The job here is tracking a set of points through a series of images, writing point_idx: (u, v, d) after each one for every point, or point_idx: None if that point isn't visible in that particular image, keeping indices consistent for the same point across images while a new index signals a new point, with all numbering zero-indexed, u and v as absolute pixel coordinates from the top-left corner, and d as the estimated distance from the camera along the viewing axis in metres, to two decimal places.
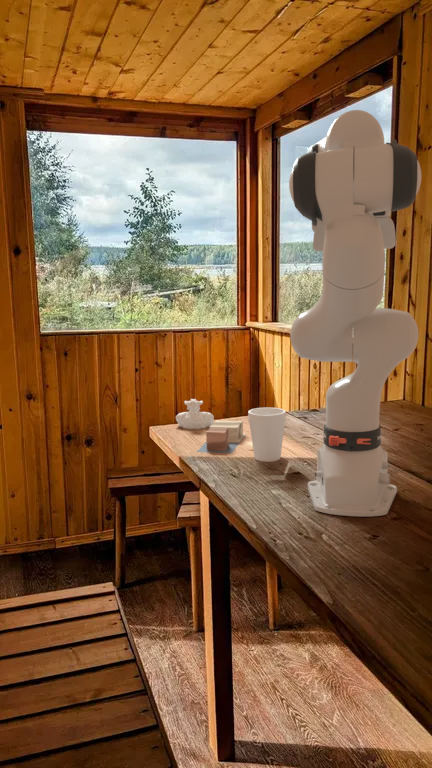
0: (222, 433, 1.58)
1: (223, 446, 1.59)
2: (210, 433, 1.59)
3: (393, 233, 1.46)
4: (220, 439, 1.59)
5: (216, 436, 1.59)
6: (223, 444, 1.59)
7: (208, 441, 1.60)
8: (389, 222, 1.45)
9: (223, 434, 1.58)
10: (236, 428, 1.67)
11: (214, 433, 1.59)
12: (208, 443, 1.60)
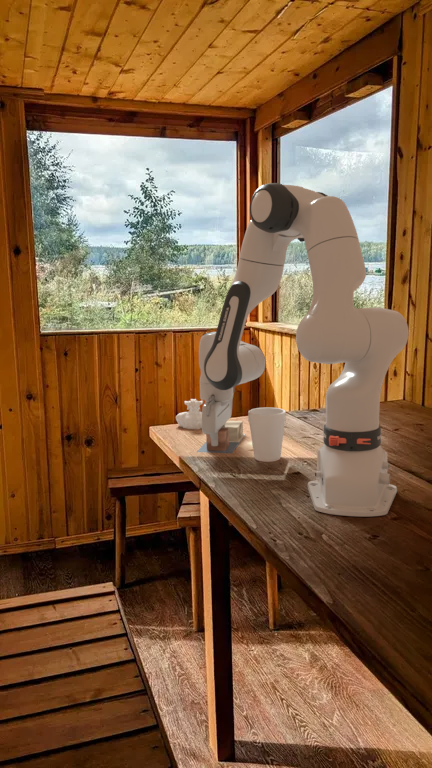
0: (222, 433, 1.58)
1: (223, 446, 1.59)
2: None
3: None
4: (220, 439, 1.59)
5: None
6: (223, 444, 1.59)
7: (208, 441, 1.60)
8: None
9: (223, 434, 1.58)
10: (236, 428, 1.67)
11: None
12: (208, 443, 1.60)
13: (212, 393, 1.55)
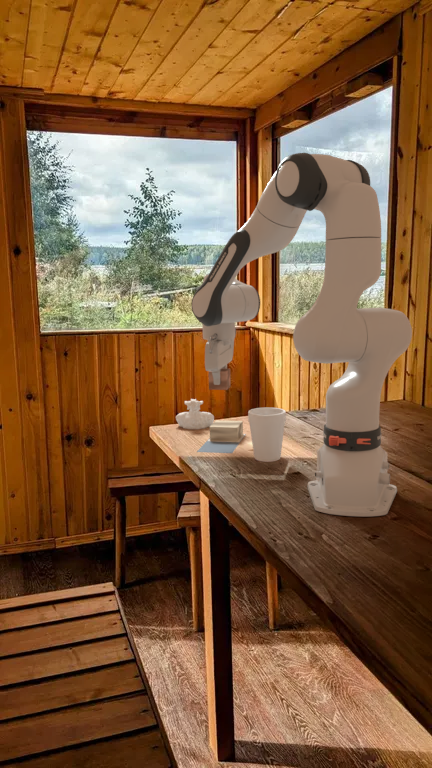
0: (224, 372, 1.62)
1: (225, 385, 1.63)
2: None
3: (233, 349, 1.73)
4: (222, 378, 1.63)
5: None
6: (225, 383, 1.63)
7: (210, 380, 1.64)
8: (233, 340, 1.71)
9: (225, 373, 1.62)
10: (236, 428, 1.67)
11: None
12: (210, 382, 1.64)
13: (215, 332, 1.59)
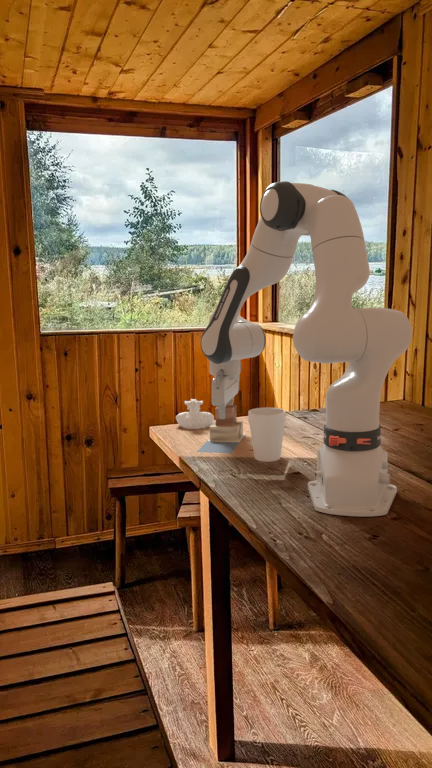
0: (230, 409, 1.68)
1: (231, 422, 1.69)
2: None
3: None
4: (229, 415, 1.69)
5: None
6: (231, 420, 1.69)
7: (217, 417, 1.70)
8: (239, 373, 1.77)
9: (231, 410, 1.68)
10: (236, 428, 1.67)
11: None
12: (217, 419, 1.70)
13: (221, 368, 1.65)
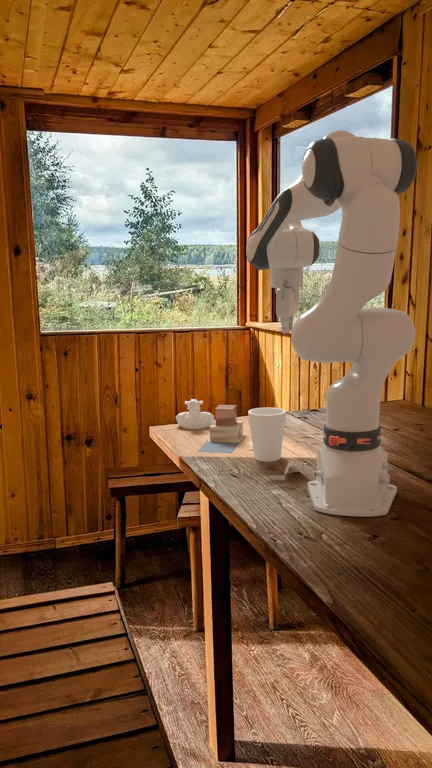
0: (230, 409, 1.68)
1: (231, 422, 1.69)
2: (219, 409, 1.69)
3: (298, 300, 1.73)
4: (229, 415, 1.69)
5: (224, 413, 1.69)
6: (231, 420, 1.69)
7: (217, 417, 1.70)
8: None
9: (231, 410, 1.68)
10: (236, 428, 1.67)
11: (223, 409, 1.69)
12: (217, 419, 1.70)
13: (284, 279, 1.59)
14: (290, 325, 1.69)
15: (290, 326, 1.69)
